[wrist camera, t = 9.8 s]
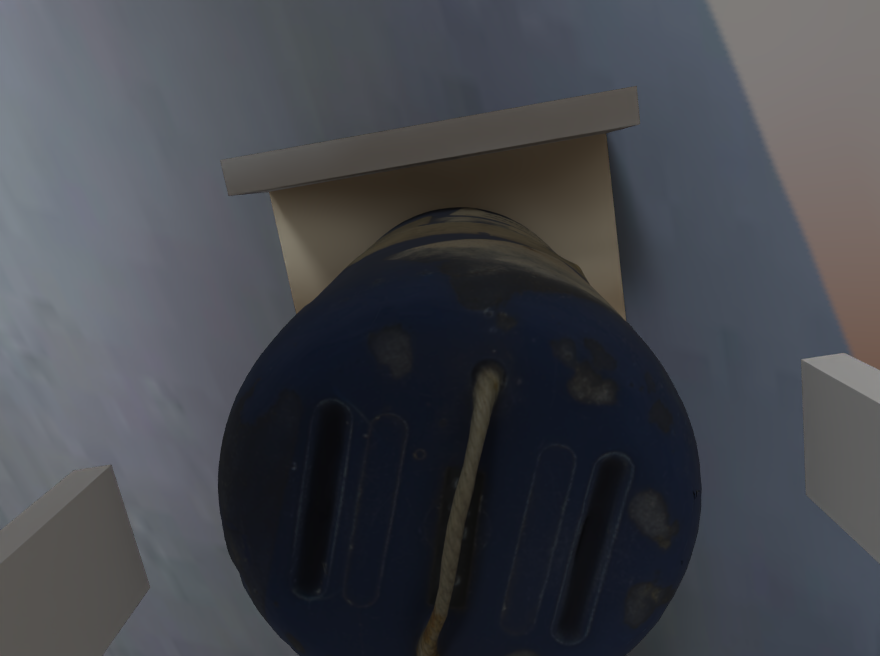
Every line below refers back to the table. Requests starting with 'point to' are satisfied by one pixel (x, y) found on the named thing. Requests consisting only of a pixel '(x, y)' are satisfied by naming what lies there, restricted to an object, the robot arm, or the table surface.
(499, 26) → the table surface
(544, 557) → the canister
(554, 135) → the keeper cradle
